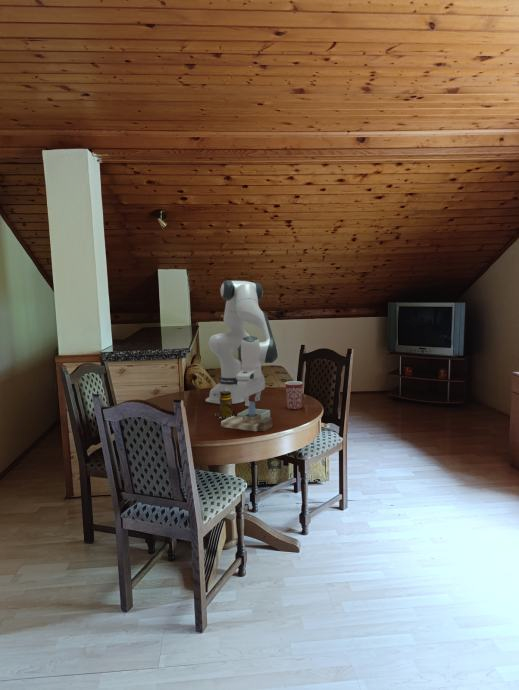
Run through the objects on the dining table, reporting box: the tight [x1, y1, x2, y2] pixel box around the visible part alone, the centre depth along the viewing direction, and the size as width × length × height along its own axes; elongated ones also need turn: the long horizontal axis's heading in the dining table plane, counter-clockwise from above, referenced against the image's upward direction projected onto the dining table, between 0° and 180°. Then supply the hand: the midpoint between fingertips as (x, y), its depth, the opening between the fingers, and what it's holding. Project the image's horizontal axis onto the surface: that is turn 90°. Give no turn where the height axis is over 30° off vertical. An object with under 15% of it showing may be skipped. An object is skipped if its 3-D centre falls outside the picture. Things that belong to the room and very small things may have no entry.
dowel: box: [247, 401, 256, 417], centre depth 207 cm, size 3×3×9 cm
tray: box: [236, 408, 271, 419], centre depth 220 cm, size 12×12×4 cm
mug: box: [284, 380, 303, 410], centre depth 241 cm, size 13×9×14 cm
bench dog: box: [257, 417, 273, 432], centre depth 205 cm, size 3×8×4 cm, turn 153°
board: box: [220, 413, 263, 432], centre depth 210 cm, size 18×10×6 cm, turn 63°
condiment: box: [214, 391, 233, 419], centre depth 228 cm, size 7×8×12 cm
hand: (252, 403), depth 206 cm, fingers open, 8 cm apart
